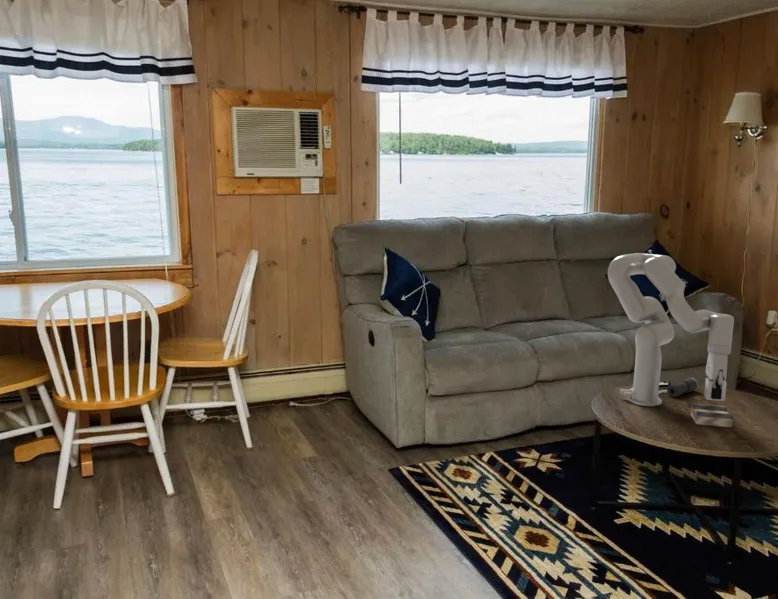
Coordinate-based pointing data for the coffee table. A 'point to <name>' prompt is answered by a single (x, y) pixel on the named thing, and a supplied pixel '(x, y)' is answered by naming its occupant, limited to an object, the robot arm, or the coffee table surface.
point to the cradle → (711, 415)
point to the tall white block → (709, 389)
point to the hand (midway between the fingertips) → (714, 396)
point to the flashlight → (682, 387)
